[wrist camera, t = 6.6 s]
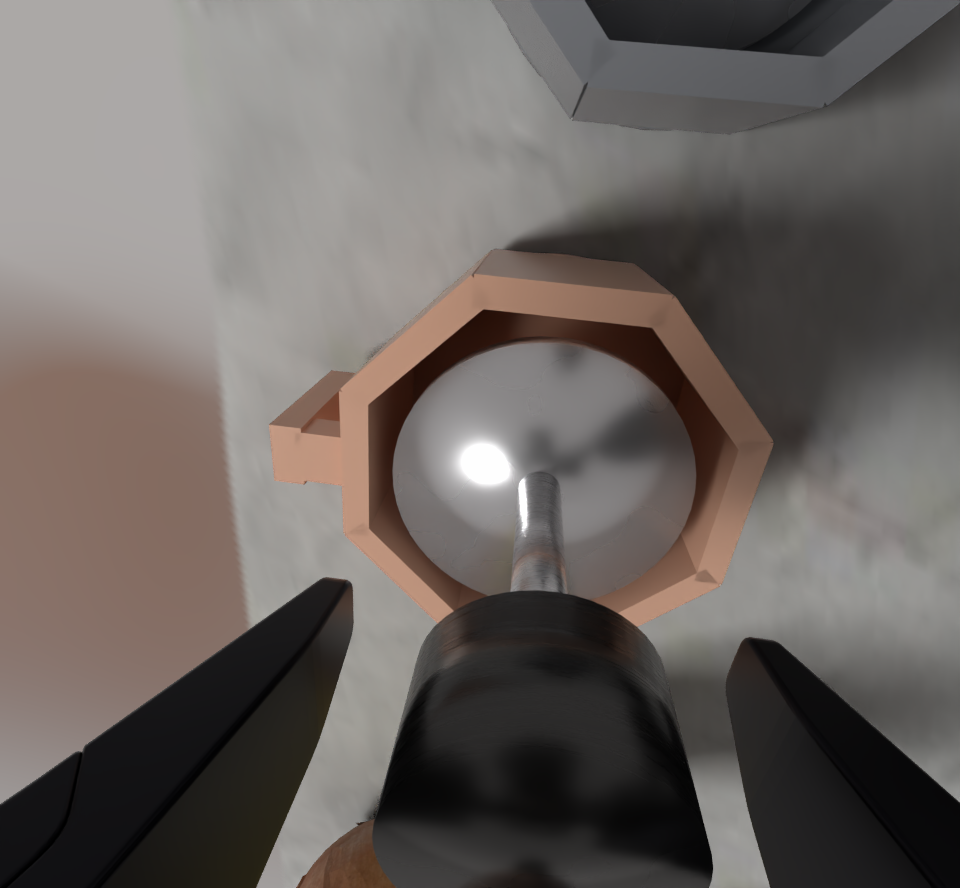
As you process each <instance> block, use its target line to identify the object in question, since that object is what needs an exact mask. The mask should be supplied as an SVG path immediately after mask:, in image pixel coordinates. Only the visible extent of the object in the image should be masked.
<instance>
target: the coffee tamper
mask: <svg viewBox="0 0 960 888" xmlns="http://www.w3.org/2000/svg"><path fill="white" fill-rule="evenodd" d="M810 1H812V0H585V2H586V3H587V5H588V7H589V8H590V10H591V12H592V13H593V15H594V16H595V18H596V20H597V21H598V23H599V24H600V26H601V28H602V29H603V31H604V33H605V34H606V36H607V37H608V39H609V40H615V41H627V42H640V43H652V44H665V45H677V46H690V47H702V48H715V49H727V50H740V51H741V50H743V49H745V48H747V47H749V46H751V45H752V44H754V43H756V42H757V41H759V40H761V39H762V38H764V37H766V36H767V35H769V34H770V33H772V32H773V31H775V30H776V29H778V28H779V27H780V26H782V25H783V24H784V23H786V22H787V21H788V20H790V19H791V18H792V17H794V16H795V15H796V14H797V13H799V12H800V11H801V10H802V9H803V8H804V7H805V6H806V5H807V4H808V3H809V2H810Z"/></svg>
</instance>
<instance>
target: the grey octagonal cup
mask: <svg viewBox="0 0 960 888" xmlns="http://www.w3.org/2000/svg"><path fill="white" fill-rule="evenodd" d="M491 2H492V3H493V5H494V6H495V8H496V9H497V11H498V12H499V14H500V15H501V17H502V18H503V20H504V21H505V23H506V24H507V26H508V29H509V31H510V32H511V34H512V36H513V38H514V39H515V41H516V43H517V44H518V46H519V48H520V50H521V51H522V53H523V55H524V56H525V57H526V58H527V60H528V61H529V62H530V64H531V65H532V66H533V68H534V69H535V70H536V71H537V73H538V74H539V75H540V76H541V77H542V78H543V79H544V81H545V82H546V84H547V85H548V87H549V88H550V90H551V91H552V93H553V94H554V96H555V97H556V99H557V100H558V102H559V103H560V105H561V106H562V108H563V109H564V111H565V112H566V114H567V115H568V117H569V118H570V119H571V118H572V117H573V119H572V121H583V122H594V123H605V124H616V125H620V126H624V127H630V128H636V129H642V130H684V131H695V132H706V133H717V134H733V133H736V132H740V131H743V130H747V129H750V128H754V127H757V126H761V125H764V124H767V123H771V122H774V121H778V120H781V119H785V118H788V117H792V116H795V115H799V114H802V113H806V112H809V111H812V110H816V109H819V108H823V107H825V106H828V105H829V104H830V103H832V102H833V101H834V100H836V99H837V98H838V97H839V96H841V95H842V94H843V93H845V92H846V91H847V90H849V89H850V88H851V87H852V86H854V85H855V84H856V83H858V82H859V81H860V80H861V79H863V78H864V77H865V76H867V75H868V74H869V73H870V72H872V71H873V70H874V69H876V68H877V67H878V66H879V65H881V64H882V63H883V62H885V61H886V60H887V59H889V58H890V57H891V56H892V55H894V54H895V53H896V52H898V51H899V50H900V49H901V48H903V47H904V46H905V45H907V44H908V43H909V42H910V41H912V40H913V39H914V38H916V37H917V36H918V35H919V34H921V33H922V32H923V31H925V30H926V29H927V28H929V27H930V26H931V25H932V24H934V23H935V22H936V21H938V20H939V19H940V18H941V17H943V16H944V15H945V14H947V13H948V12H949V11H950V10H952V9H953V8H954V7H956V6H957V5H958V4H959V3H960V0H812V1H810V2H809V3H808V4H807V5H806V6H805V7H804V8H803V9H802V10H801V11H800V12H799V13H797V14H796V15H795V16H794V17H792V18H791V19H790V20H788V21H787V22H786V23H784V24H783V25H782V26H780V27H779V28H778V29H776V30H775V31H773V32H772V33H770V34H769V35H767V36H766V37H764V38H762V39H761V40H759V41H757V42H756V43H754V44H752V45H751V46H749V47H747V48H745V49H743V50H741V51H740V50H727V49H715V48H702V47H690V46H677V45H665V44H652V43H640V42H627V41H615V40H609V39H608V37H607V36H606V34H605V33H604V31H603V29H602V28H601V26H600V24H599V23H598V21H597V20H596V18H595V16H594V15H593V13H592V12H591V10H590V8H589V7H588V5H587V3H586V2H585V0H491Z"/></svg>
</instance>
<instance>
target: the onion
mask: <svg viewBox="0 0 960 888" xmlns="http://www.w3.org/2000/svg"><path fill="white" fill-rule="evenodd" d="M374 820H375V819H373V820H370V821H367V822H361V823H357V825H359V826H357V827H355V828H353V829H352V830H351V831H349V832H348V833H346V834H345V835H343V836H342V837H340V838H339V839H338V840H337V841H336V842H335V843H333V844H332V845H331V846H330V847H329V848H328V849H326V850H325V852H324V853H323V854H322V855H321V856H320V857H319V858H318V860H317V861H316V862H315V863H314V864H313V866H312V867H311V868H310V870H309V871H308V873H307V874H306V875H304V876H303V877H302V879H301V881H300V883H299V884H298V886H297V887H296V888H396V887H395V886H394V885H393V884H392V882H391V881H390V880H389V879H388V877H387V876H386V875H385V873H384V872H383V870H382V868H381V866H380V865H379V863H378V861H377V858H376V855H375V852H374V849H373V841H372V832H373V824H374Z"/></svg>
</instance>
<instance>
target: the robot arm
mask: <svg viewBox="0 0 960 888" xmlns="http://www.w3.org/2000/svg"><path fill="white" fill-rule="evenodd" d="M353 623H354V619H353V587H352V584H351V582H349V581H348V580H343V579H336V578H329V577H326V578H322V579H320V580H319V581H317V582H316V583H314V584H313V585H312V586H310V587H309V588H307V589H306V590H304V591H303V592H302V593H300V594H299V595H297V596H296V597H295V598H293V599H292V600H290V601H289V602H287V603H286V604H285V605H283V606H282V607H280V608H279V609H278V610H276V611H275V612H273V613H272V614H271V615H269V616H268V617H266V618H265V619H263V620H262V621H261V622H259V623H258V624H256V625H255V626H254V627H252V628H251V629H249V630H248V631H246V632H245V633H244V634H242V635H241V636H239V637H238V638H237V639H235V640H234V641H232V642H231V643H230V644H228V645H227V646H225V647H224V648H222V649H221V650H220V651H218V652H217V653H215V654H214V655H212V656H211V657H210V658H208V659H207V660H205V661H204V662H203V663H201V664H200V665H198V666H197V667H196V668H194V669H193V670H191V671H190V672H188V673H187V674H186V675H184V676H183V677H181V678H180V679H179V680H177V681H176V682H174V683H173V684H171V685H170V686H169V687H167V688H166V689H164V690H163V691H162V692H160V693H159V694H157V695H156V696H154V697H153V698H152V699H150V700H149V701H147V702H146V703H145V704H143V705H142V706H140V707H139V708H138V709H136V710H135V711H133V712H132V713H130V714H129V715H128V716H126V717H125V718H123V719H122V720H120V721H119V722H118V723H116V724H115V725H113V726H112V727H111V728H109V729H108V730H106V731H105V732H103V733H102V734H101V735H99V736H98V737H97V738H95V739H94V740H92V741H91V742H89V743H88V744H87V745H85V747H84V748H83V751H82V752H80V751H78V752H75V753H73V754H72V755H71V756H69V757H68V758H66V759H65V760H63V761H62V762H61V763H59V764H58V765H56V766H55V767H54V768H52V769H51V770H49V771H48V772H46V773H45V774H44V775H42V776H41V777H39V778H38V779H36V780H35V781H34V782H32V783H31V784H29V785H28V786H26V787H25V788H23V789H22V790H21V791H19V792H17V793H16V794H14V795H13V796H12V797H10V798H9V799H7V800H6V801H4V802H3V803H1V804H0V888H256V887H257V884H258V882H259V879H260V877H261V875H262V872H263V870H264V868H265V866H266V863H267V861H268V858H269V856H270V854H271V851H272V849H273V847H274V845H275V842H276V840H277V838H278V835H279V833H280V831H281V828H282V826H283V824H284V821H285V819H286V817H287V814H288V812H289V810H290V808H291V805H292V803H293V801H294V798H295V796H296V794H297V791H298V789H299V787H300V784H301V782H302V780H303V777H304V775H305V773H306V770H307V768H308V766H309V763H310V761H311V759H312V756H313V754H314V751H315V749H316V746H317V744H318V741H319V739H320V736H321V733H322V729H323V726H324V723H325V720H326V717H327V714H328V711H329V707H330V704H331V701H332V698H333V695H334V691H335V688H336V685H337V682H338V678H339V675H340V672H341V669H342V665H343V662H344V659H345V656H346V653H347V649H348V646H349V643H350V640H351V636H352V631H353ZM726 696H727V702H728V707H729V713H730V718H731V723H732V729H733V734H734V740H735V745H736V750H737V756H738V761H739V766H740V772H741V777H742V783H743V788H744V793H745V797H746V802H747V807H748V811H749V815H750V818H751V822H752V826H753V829H754V833H755V836H756V840H757V843H758V847H759V850H760V853H761V857H762V860H763V864H764V867H765V871H766V874H767V878H768V881H769V884H770V888H960V802H958V801H957V800H956V799H955V798H954V797H953V796H952V795H951V794H949V793H948V792H947V791H946V790H945V789H944V788H943V787H941V786H940V785H939V784H938V783H937V782H936V781H935V780H934V779H932V778H931V777H930V776H929V775H928V774H927V773H926V772H924V771H923V770H922V769H921V768H920V767H919V766H918V765H917V764H915V763H914V762H913V761H912V760H911V759H910V758H909V757H908V756H906V755H905V754H904V753H903V752H902V751H901V750H900V749H898V748H897V747H896V746H895V745H894V744H893V743H892V742H891V741H889V740H888V739H887V738H886V737H885V736H884V735H883V734H882V733H880V732H879V731H878V730H877V729H876V728H875V727H874V726H872V725H871V724H870V723H869V722H868V721H867V720H866V719H865V718H863V717H862V716H861V715H860V714H859V713H858V712H857V711H856V710H854V709H853V708H852V707H851V706H850V705H849V704H848V703H846V702H845V701H844V700H843V699H842V698H841V697H840V696H839V695H837V694H836V693H835V692H834V691H833V690H832V689H831V688H830V687H828V686H827V685H826V684H825V683H824V682H823V681H822V680H820V679H819V678H818V677H817V676H816V675H815V674H814V673H813V672H811V671H810V670H809V669H808V668H807V667H806V666H805V665H803V664H802V663H801V662H800V661H799V660H798V659H797V658H796V657H794V656H793V655H792V654H791V653H790V652H789V651H788V650H787V649H785V648H784V647H783V646H782V645H781V644H779V643H778V642H776V641H773V640H768V639H760V638H753V637H748V638H745V639H744V640H743V641H742V642H741V644H740V646H739V649H738V651H737V653H736V656H735V658H734V661H733V663H732V665H731V668H730V670H729V673H728V675H727V679H726Z"/></svg>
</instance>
